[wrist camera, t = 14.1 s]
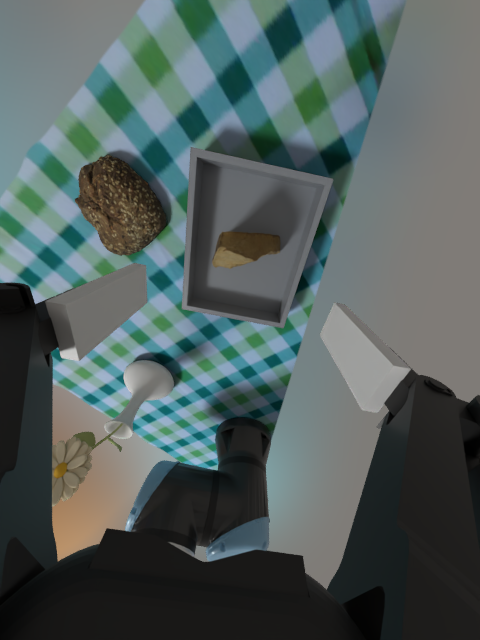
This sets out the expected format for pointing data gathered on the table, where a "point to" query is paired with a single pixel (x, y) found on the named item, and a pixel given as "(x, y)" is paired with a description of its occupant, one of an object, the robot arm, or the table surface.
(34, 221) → the table surface
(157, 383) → the flower in vase
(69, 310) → the robot arm
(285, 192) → the bin
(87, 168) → the bread roll
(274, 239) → the rock
